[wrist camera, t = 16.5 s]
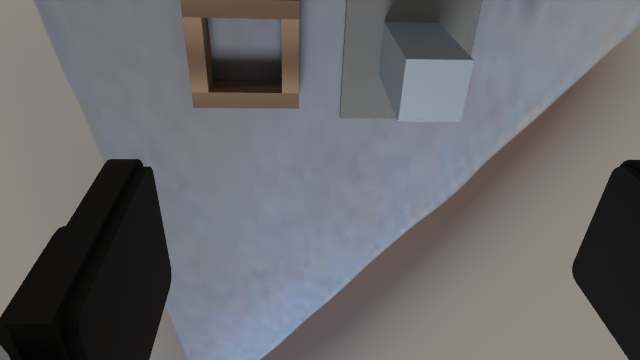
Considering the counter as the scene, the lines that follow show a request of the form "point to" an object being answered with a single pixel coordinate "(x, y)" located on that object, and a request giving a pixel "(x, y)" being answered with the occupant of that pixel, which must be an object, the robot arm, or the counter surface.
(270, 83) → the pocket holder
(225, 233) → the counter surface
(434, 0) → the mat
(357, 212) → the counter surface
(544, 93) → the counter surface
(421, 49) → the block
